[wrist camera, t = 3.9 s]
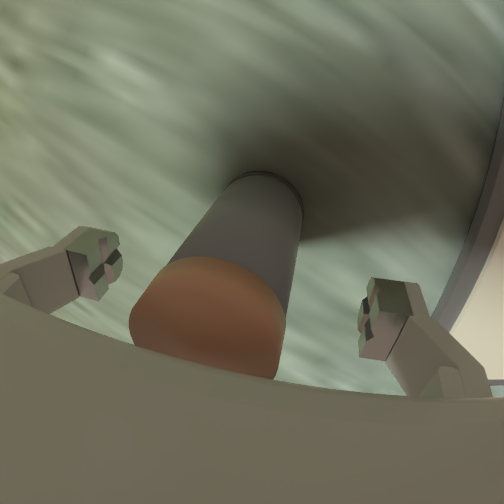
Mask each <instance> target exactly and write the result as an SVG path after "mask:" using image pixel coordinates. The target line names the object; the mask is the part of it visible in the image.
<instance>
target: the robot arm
mask: <svg viewBox="0 0 504 504" xmlns="http://www.w3.org/2000/svg"><path fill="white" fill-rule="evenodd" d="M119 245H120V242H119V237H118V235H117V234H116V233H115V232H111V231H106V230H101V229H96V228H91V227H86V226H78V227H77V228H76V229H75V230H73V231H72V232H71V233H70V234H68V235H67V236H66V237H65V238H63V239H62V240H61V241H60V242H58V243H57V244H56V245H55V246H54V247H47V248H44V249H41V250H38V251H35V252H33V253H30V254H27V255H24V256H21V257H19V258H16V259H13V260H10V261H8V262H5V263H2V264H0V504H504V397H493V395H492V392H491V388H490V385H489V382H488V378H487V375H486V372H485V369H484V367H483V366H482V365H481V364H480V363H479V362H478V361H477V360H476V359H475V358H474V357H473V356H472V355H471V354H470V353H469V352H468V351H467V350H466V349H465V348H464V347H463V346H462V345H461V344H460V343H459V342H458V341H457V340H456V339H455V338H454V337H453V336H452V335H451V334H450V333H449V332H448V331H447V330H446V329H444V328H443V327H442V326H441V325H440V324H439V323H438V322H437V321H436V320H435V319H430V316H429V313H428V310H427V307H426V304H425V301H424V298H423V295H422V292H421V289H420V286H419V285H418V284H417V283H411V282H403V281H395V280H388V279H381V278H374V277H371V279H370V280H369V283H368V285H367V297H366V298H364V299H363V300H362V303H361V306H360V310H359V315H358V331H359V332H360V333H361V335H360V338H359V340H358V345H359V357H361V358H367V359H374V360H381V361H386V362H385V363H386V364H387V366H388V367H389V369H390V370H391V372H392V373H393V375H394V376H395V378H396V379H397V381H398V383H399V384H400V386H401V387H402V389H403V390H404V392H405V393H406V395H407V396H398V395H385V394H373V393H363V392H353V391H344V390H336V389H328V388H321V387H314V386H307V385H301V384H295V383H289V382H283V381H278V380H273V379H267V378H262V377H257V376H252V375H247V374H243V373H238V372H234V371H229V370H225V369H220V368H216V367H212V366H208V365H204V364H200V363H196V362H192V361H188V360H184V359H181V358H177V357H173V356H170V355H166V354H163V353H159V352H156V351H152V350H149V349H146V348H142V347H139V346H136V345H133V344H129V343H126V342H123V341H120V340H117V339H114V338H111V337H108V336H105V335H102V334H100V333H97V332H94V331H91V330H88V329H86V328H83V327H80V326H78V325H75V324H72V323H70V322H67V321H65V320H62V319H60V318H57V317H55V316H52V315H50V313H52V312H54V311H56V310H57V309H59V308H61V307H63V306H64V305H66V304H68V303H70V302H71V301H73V300H75V299H77V298H78V297H79V296H81V297H85V298H89V299H92V300H96V301H99V300H100V299H101V298H102V296H103V295H104V294H105V293H106V292H107V291H108V289H109V287H108V284H110V283H113V282H115V281H116V280H117V279H118V278H119V276H120V274H121V271H122V267H123V260H122V255H121V254H120V252H119V251H118V250H117V248H118V247H119Z"/></svg>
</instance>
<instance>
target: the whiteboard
mask: <svg viewBox="0 0 504 504" xmlns="http://www.w3.org/2000/svg"><path fill="white" fill-rule="evenodd" d="M430 319H435V320H436V321H437V322H438V323H439V324H440V325H441V326H442V327H443V328H444V329H446V330H447V331H448V332H449V333H450V334H451V335H452V336H453V337H454V338H455V339H456V340H457V341H458V342H459V343H460V344H461V345H462V346H463V347H464V348H465V349H466V350H467V351H468V352H469V353H470V354H471V355H472V356H473V357H474V358H475V359H476V360H477V361H478V362H479V363H480V364H481V365H482V366H483V367H484V369H485V372H486V375H487V378H488V382H489V385H490V386H494V385H504V100H503V106H502V112H501V118H500V123H499V128H498V133H497V138H496V142H495V147H494V151H493V155H492V159H491V163H490V167H489V171H488V174H487V178H486V181H485V185H484V188H483V191H482V195H481V198H480V201H479V204H478V207H477V210H476V213H475V216H474V219H473V222H472V225H471V227H470V230H469V233H468V235H467V238H466V241H465V243H464V246H463V248H462V251H461V253H460V256H459V258H458V261H457V263H456V265H455V268H454V270H453V272H452V275H451V277H450V279H449V281H448V284H447V286H446V288H445V290H444V292H443V294H442V296H441V298H440V300H439V303H438V305H437V307H436V309H435V311H434V313H433V315H432V316H431V318H430Z"/></svg>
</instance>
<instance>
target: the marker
mask: <svg viewBox="0 0 504 504" xmlns="http://www.w3.org/2000/svg"><path fill="white" fill-rule="evenodd" d="M302 221H303V205H302V201H301V198H300V196H299V194H298V192H297V191H296V189H295V188H294V187H293V186H292V185H291V184H290V183H289V182H288V181H287V180H285V179H284V178H282V177H280V176H278V175H276V174H273V173H270V172H265V171H253V172H248V173H245V174H242V175H240V176H238V177H237V178H235V179H234V180H233V181H232V182H231V183H230V184H229V185H228V186H227V188H226V189H225V190H224V191H223V193H222V194H221V195H220V196H219V198H218V199H217V200H216V201H215V203H214V204H213V205H212V206H211V208H210V209H209V210H208V211H207V213H206V214H205V215H204V217H203V218H202V219H201V220H200V222H199V223H198V224H197V226H196V227H195V228H194V229H193V231H192V232H191V233H190V235H189V236H188V237H187V239H186V240H185V241H184V243H183V244H182V245H181V246H180V248H179V249H178V250H177V252H176V253H175V254H174V256H173V257H172V258H171V260H170V261H169V263H168V264H167V265H166V266H165V267H164V268H163V269H161V270H160V271H159V273H158V274H157V275H156V277H155V278H154V279H153V281H152V282H151V283H150V285H149V286H148V287H147V289H146V290H145V292H144V293H143V294H142V296H141V297H140V298H139V300H138V301H137V303H136V304H135V306H134V307H133V308H132V311H131V313H130V317H129V330H130V334H131V337H132V340H133V342H134V344H135V345H136V346H139V347H142V348H146V349H149V350H152V351H156V352H159V353H163V354H166V355H170V356H173V357H177V358H181V359H184V360H188V361H192V362H196V363H200V364H204V365H208V366H212V367H216V368H220V369H225V370H229V371H234V372H238V373H243V374H247V375H252V376H257V377H262V378H267V379H274V377H275V375H276V373H277V370H278V365H279V360H280V355H281V350H282V345H283V340H284V334H285V328H286V320H285V318H286V313H287V308H288V302H289V297H290V291H291V286H292V280H293V275H294V269H295V263H296V257H297V251H298V245H299V239H300V233H301V227H302Z"/></svg>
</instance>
